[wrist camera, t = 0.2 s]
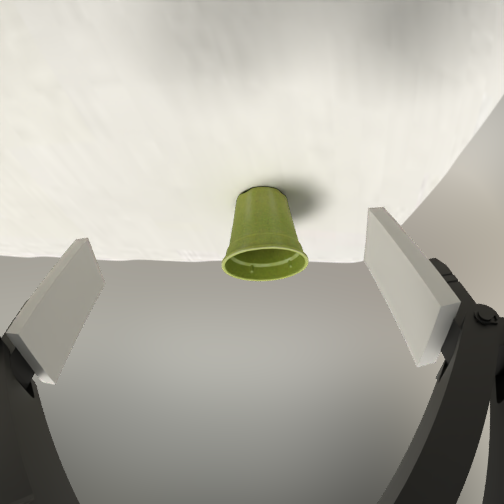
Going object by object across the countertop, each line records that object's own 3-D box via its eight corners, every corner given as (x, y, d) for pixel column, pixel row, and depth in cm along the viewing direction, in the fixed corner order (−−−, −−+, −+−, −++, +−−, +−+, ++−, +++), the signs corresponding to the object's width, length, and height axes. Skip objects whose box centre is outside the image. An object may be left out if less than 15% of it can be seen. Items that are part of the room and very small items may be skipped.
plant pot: (221, 175, 33) (220, 248, 29) (307, 177, 34) (317, 248, 30) (223, 219, 41) (222, 281, 38) (293, 220, 42) (298, 280, 39)
